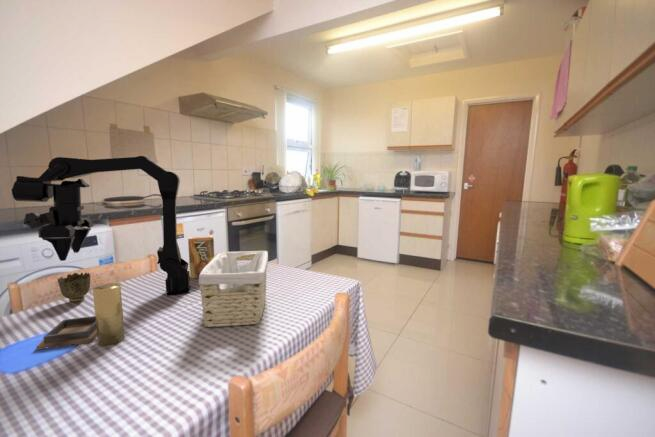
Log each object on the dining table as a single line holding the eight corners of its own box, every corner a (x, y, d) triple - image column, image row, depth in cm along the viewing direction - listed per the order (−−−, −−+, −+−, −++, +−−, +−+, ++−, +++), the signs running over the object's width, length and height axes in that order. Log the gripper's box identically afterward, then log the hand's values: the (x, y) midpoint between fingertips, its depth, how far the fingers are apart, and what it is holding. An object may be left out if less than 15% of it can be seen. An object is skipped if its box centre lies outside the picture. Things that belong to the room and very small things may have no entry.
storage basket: (220, 293, 94) (218, 250, 92) (269, 291, 96) (269, 249, 94) (198, 331, 70) (195, 275, 68) (264, 327, 73) (263, 272, 71)
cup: (73, 308, 82) (70, 281, 80) (53, 305, 83) (50, 279, 82) (99, 297, 89) (96, 273, 88) (80, 295, 90) (77, 271, 89)
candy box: (214, 272, 114) (213, 235, 112) (215, 276, 110) (213, 237, 108) (190, 275, 110) (188, 237, 108) (190, 279, 106) (188, 239, 104)
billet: (128, 332, 69) (123, 282, 67) (120, 344, 64) (115, 290, 63) (103, 336, 67) (98, 284, 66) (94, 348, 63) (88, 292, 61)
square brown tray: (109, 321, 74) (108, 313, 74) (92, 341, 65) (91, 332, 65) (62, 327, 71) (61, 318, 71) (36, 349, 62) (35, 339, 62)
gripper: (46, 199, 85) (48, 249, 87) (8, 204, 68) (12, 267, 70) (92, 200, 90) (94, 248, 91) (67, 206, 73) (70, 264, 75)
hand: (69, 256), depth 82 cm, fingers open, 9 cm apart
